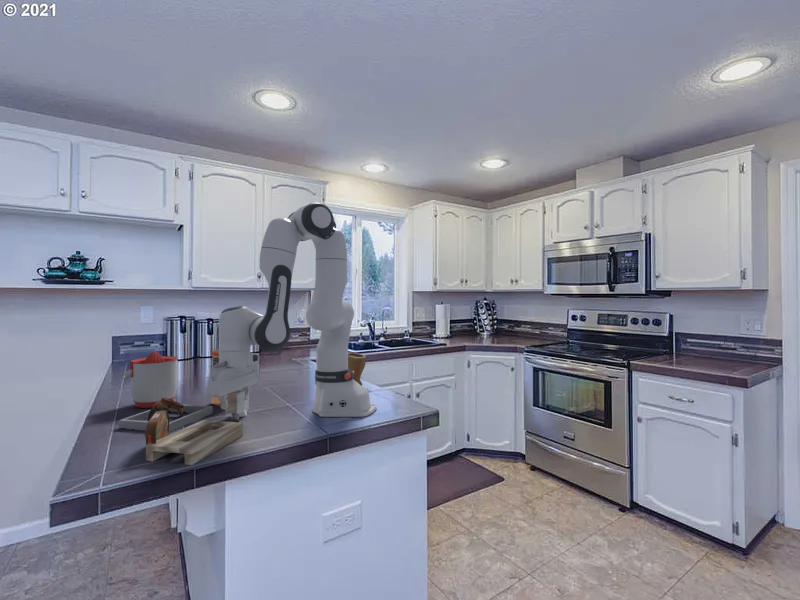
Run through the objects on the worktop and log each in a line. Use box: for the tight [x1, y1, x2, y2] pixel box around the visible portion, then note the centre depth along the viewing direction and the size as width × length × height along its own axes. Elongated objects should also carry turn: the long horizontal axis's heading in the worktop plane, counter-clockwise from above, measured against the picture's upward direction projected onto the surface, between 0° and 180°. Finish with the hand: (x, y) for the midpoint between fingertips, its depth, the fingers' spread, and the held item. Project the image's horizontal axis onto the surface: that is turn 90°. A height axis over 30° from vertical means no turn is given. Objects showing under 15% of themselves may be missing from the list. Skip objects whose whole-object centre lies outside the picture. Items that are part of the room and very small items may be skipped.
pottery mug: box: [146, 398, 185, 421], centre depth 128 cm, size 12×10×8 cm
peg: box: [224, 390, 245, 427], centre depth 120 cm, size 4×4×11 cm
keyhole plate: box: [145, 419, 244, 466], centre depth 105 cm, size 13×20×4 cm, turn 168°
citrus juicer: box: [123, 351, 179, 409], centre depth 147 cm, size 16×17×20 cm
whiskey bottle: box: [210, 347, 221, 408], centre depth 149 cm, size 10×10×32 cm
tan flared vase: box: [348, 352, 367, 387], centre depth 174 cm, size 15×12×15 cm
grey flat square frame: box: [118, 404, 213, 433], centre depth 128 cm, size 18×19×2 cm
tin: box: [144, 410, 170, 446], centre depth 104 cm, size 15×3×8 cm, turn 20°
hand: (235, 404), depth 120 cm, fingers open, 8 cm apart
